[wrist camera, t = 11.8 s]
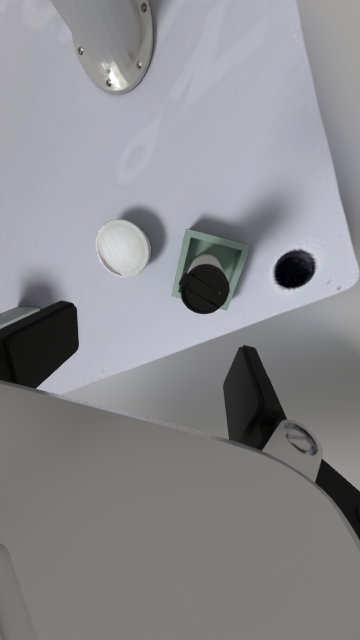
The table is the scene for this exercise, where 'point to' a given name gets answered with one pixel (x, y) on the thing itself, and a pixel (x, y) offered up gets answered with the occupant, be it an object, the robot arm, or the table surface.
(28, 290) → the table surface
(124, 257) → the ramekin
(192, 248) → the tray
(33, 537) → the robot arm
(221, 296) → the travel mug
